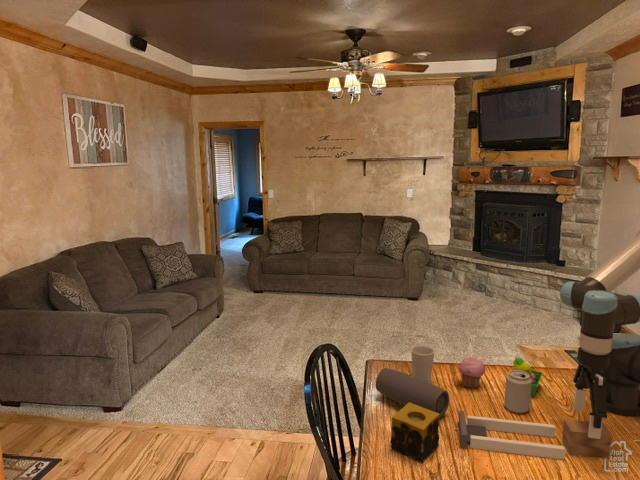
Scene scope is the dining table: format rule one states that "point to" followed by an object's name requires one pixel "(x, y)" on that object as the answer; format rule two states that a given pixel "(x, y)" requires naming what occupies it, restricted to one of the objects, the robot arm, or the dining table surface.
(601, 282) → the robot arm
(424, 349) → the cup
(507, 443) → the channel
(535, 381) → the fruit basket
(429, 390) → the bluetooth speaker
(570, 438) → the block
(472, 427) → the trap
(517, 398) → the can
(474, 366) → the cupcake
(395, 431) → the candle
